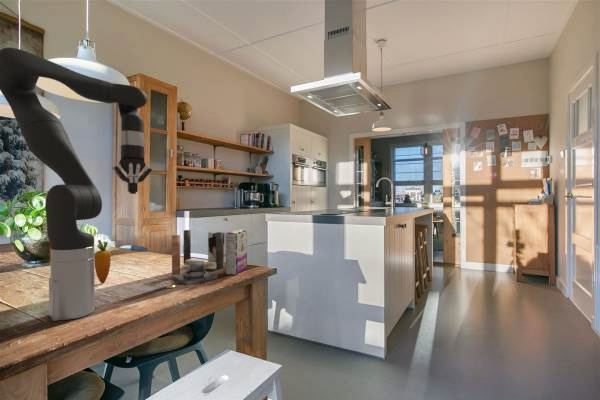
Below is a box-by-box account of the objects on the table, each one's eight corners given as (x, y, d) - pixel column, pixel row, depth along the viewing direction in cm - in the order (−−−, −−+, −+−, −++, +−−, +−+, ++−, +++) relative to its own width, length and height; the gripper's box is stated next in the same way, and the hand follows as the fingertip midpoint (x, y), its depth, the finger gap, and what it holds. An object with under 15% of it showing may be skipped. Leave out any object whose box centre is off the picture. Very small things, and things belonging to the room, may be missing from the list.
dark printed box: (213, 270, 131) (213, 233, 131) (205, 267, 136) (205, 231, 136) (227, 267, 136) (227, 232, 136) (219, 264, 141) (219, 230, 140)
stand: (168, 288, 105) (168, 279, 105) (153, 281, 114) (153, 272, 113) (218, 278, 118) (218, 270, 118) (201, 272, 127) (201, 264, 127)
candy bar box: (236, 268, 135) (236, 229, 134) (247, 268, 134) (247, 229, 134) (224, 274, 124) (224, 232, 124) (236, 275, 123) (237, 232, 123)
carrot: (113, 283, 110) (113, 240, 110) (96, 286, 107) (96, 241, 106) (108, 280, 114) (108, 238, 113) (92, 283, 110) (92, 240, 110)
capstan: (212, 276, 108) (212, 236, 107) (162, 275, 109) (162, 235, 109) (228, 264, 126) (228, 230, 125) (185, 264, 127) (185, 229, 126)
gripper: (148, 148, 122) (148, 193, 122) (108, 144, 112) (108, 193, 113) (155, 146, 116) (155, 193, 117) (115, 141, 107) (115, 193, 107)
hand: (132, 193), depth 115 cm, fingers closed
